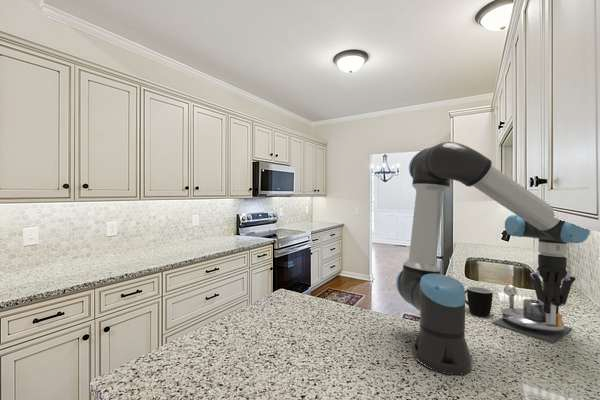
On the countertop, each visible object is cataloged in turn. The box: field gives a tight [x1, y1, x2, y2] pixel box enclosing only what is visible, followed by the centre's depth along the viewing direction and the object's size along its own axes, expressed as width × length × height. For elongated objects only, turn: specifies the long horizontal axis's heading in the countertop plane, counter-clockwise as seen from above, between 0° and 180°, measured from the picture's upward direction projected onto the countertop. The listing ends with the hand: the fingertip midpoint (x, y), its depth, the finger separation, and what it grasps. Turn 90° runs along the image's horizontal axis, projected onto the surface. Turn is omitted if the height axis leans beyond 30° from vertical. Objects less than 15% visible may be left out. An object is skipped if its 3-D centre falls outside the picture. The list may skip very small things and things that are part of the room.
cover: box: [522, 298, 546, 323], centre depth 105 cm, size 7×7×7 cm
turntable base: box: [491, 317, 573, 344], centre depth 106 cm, size 20×18×2 cm
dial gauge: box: [503, 284, 518, 308], centre depth 120 cm, size 4×4×12 cm
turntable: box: [501, 307, 565, 332], centre depth 107 cm, size 18×18×6 cm
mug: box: [465, 286, 493, 318], centre depth 120 cm, size 12×9×10 cm
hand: (550, 322), depth 99 cm, fingers closed
